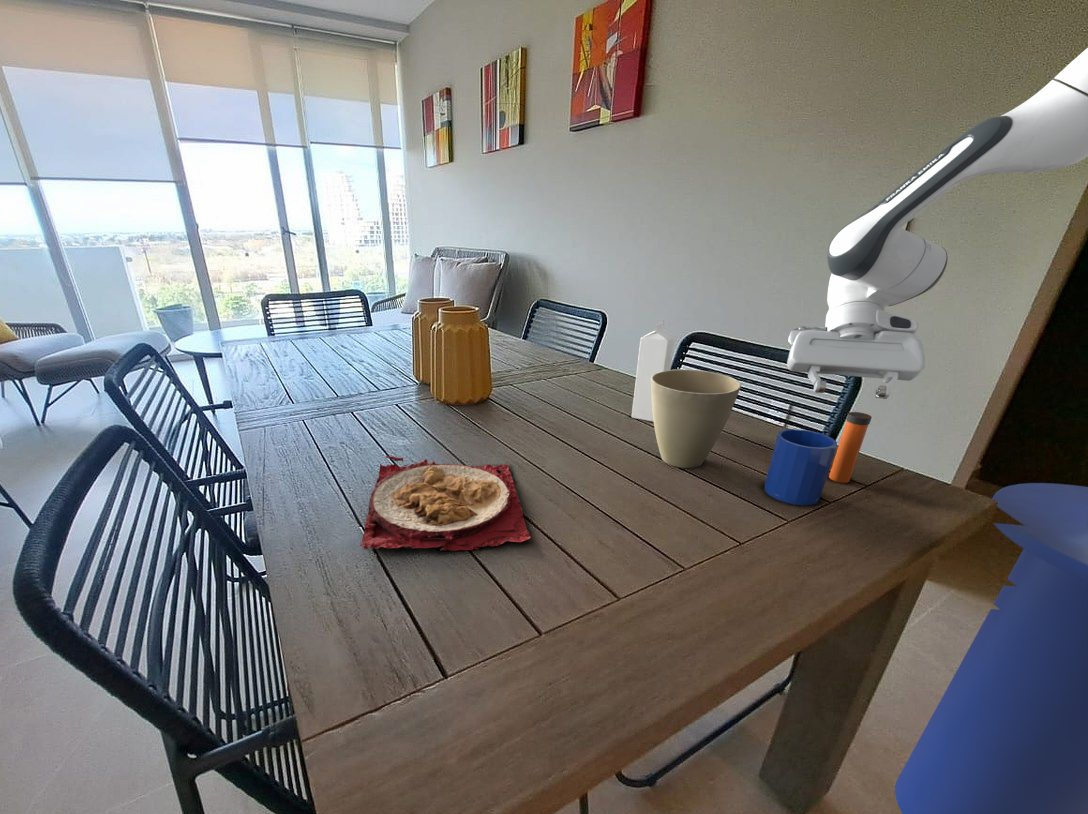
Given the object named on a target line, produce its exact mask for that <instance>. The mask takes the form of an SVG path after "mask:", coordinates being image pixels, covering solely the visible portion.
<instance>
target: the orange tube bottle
mask: <svg viewBox="0 0 1088 814" xmlns="http://www.w3.org/2000/svg"><path fill="white" fill-rule="evenodd" d="M872 418H873V417H872V415H870V414H868V413H864V412H859V411H850V412H849V411H848V413H847V416H846V419H845V420H846V422H845V424H844V428H843V431H842V434H841V437H840V441H839V443H838V445H837V448H836V449H837V450H836V451H835V456H834V458H833V461H832V464H831V467H830V468H831V469H830V470H829V471H830V472H829V473H828V474H829V475H828V478H829V479H830V480H832V481H834V482H837V483H841V484H846V483H849V482H850V481H851V477H852V474H853V472H854V469H855V466H856V463H857V460H858V456H859V454H860V451H861V448H862V445H863V442H864V439H865V436H866V433H867V430H868V428H869V425H870V424H871V421H872Z"/></svg>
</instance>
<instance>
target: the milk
mask: <svg viewBox="0 0 1088 814" xmlns="http://www.w3.org/2000/svg"><path fill="white" fill-rule="evenodd" d="M664 324H665V320H661V321H660V322H658V323H656V324H655V329H654V330H653V331H651V332H649V333H647V334H645V335H643V336H642V337H640V341H639V350H638V359H637V367H636V374H635V375H636V376H635V385H634V394H633V400H632V408H631V418H632V419H638V420H642V421H648V422H653V423H654V421H653V412H652V399H651V377H652V375H654V374H655V373H658V372H661V371H667V370H671V368H672V367H671V366H672V361H673V353H674V348H675V340H676V335H674V334H673V333H672V332H671V331H669V330H668V329H666V328H665V327H664Z"/></svg>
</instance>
